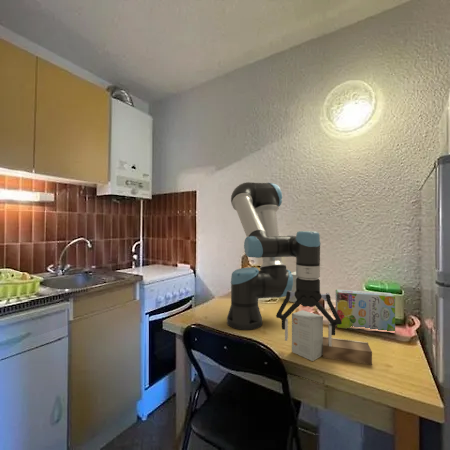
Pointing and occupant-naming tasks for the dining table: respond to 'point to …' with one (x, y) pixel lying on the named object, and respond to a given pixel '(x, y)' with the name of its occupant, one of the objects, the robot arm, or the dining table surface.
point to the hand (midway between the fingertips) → (307, 342)
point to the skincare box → (293, 287)
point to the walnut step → (347, 350)
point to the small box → (307, 334)
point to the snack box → (366, 309)
